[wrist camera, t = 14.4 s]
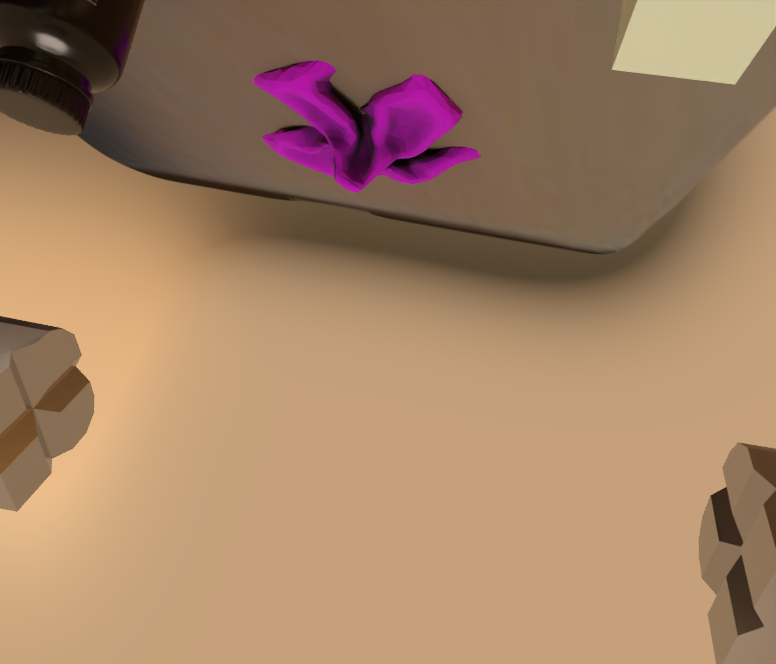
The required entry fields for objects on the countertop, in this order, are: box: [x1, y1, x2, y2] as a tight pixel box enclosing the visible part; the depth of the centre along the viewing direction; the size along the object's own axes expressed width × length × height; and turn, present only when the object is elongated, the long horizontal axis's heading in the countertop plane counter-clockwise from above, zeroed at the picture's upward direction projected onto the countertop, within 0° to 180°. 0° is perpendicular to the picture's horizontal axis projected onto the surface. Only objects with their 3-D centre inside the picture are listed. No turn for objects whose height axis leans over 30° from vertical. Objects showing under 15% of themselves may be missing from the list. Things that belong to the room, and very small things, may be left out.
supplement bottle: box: [0, 0, 145, 135], centre depth 35 cm, size 7×7×12 cm
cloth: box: [254, 61, 481, 193], centre depth 53 cm, size 22×19×6 cm
